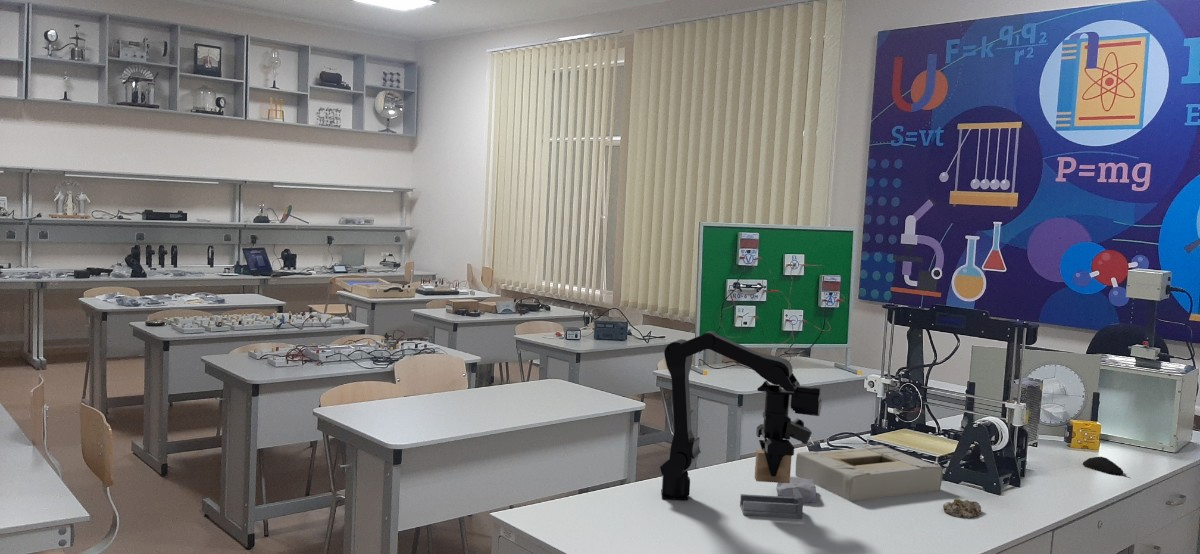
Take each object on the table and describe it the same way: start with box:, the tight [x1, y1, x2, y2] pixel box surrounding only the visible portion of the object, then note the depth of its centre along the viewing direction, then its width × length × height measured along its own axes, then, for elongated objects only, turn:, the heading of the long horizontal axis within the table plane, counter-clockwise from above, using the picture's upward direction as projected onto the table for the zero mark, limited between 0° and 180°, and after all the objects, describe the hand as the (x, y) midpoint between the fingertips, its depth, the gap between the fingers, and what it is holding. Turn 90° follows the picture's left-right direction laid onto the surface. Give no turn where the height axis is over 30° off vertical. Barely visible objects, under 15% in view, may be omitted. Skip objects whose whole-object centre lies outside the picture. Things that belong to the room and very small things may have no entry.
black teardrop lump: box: [1082, 456, 1131, 479], centre depth 264 cm, size 6×15×4 cm, turn 24°
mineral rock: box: [942, 498, 982, 519], centre depth 219 cm, size 11×4×8 cm
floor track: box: [739, 489, 804, 519], centre depth 213 cm, size 14×7×5 cm, turn 88°
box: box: [795, 444, 944, 502], centre depth 241 cm, size 23×8×32 cm
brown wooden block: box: [754, 449, 793, 484], centre depth 212 cm, size 8×3×7 cm, turn 88°
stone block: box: [776, 476, 817, 504], centre depth 227 cm, size 12×5×10 cm
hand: (772, 474), depth 212 cm, fingers closed on brown wooden block, 3 cm apart
